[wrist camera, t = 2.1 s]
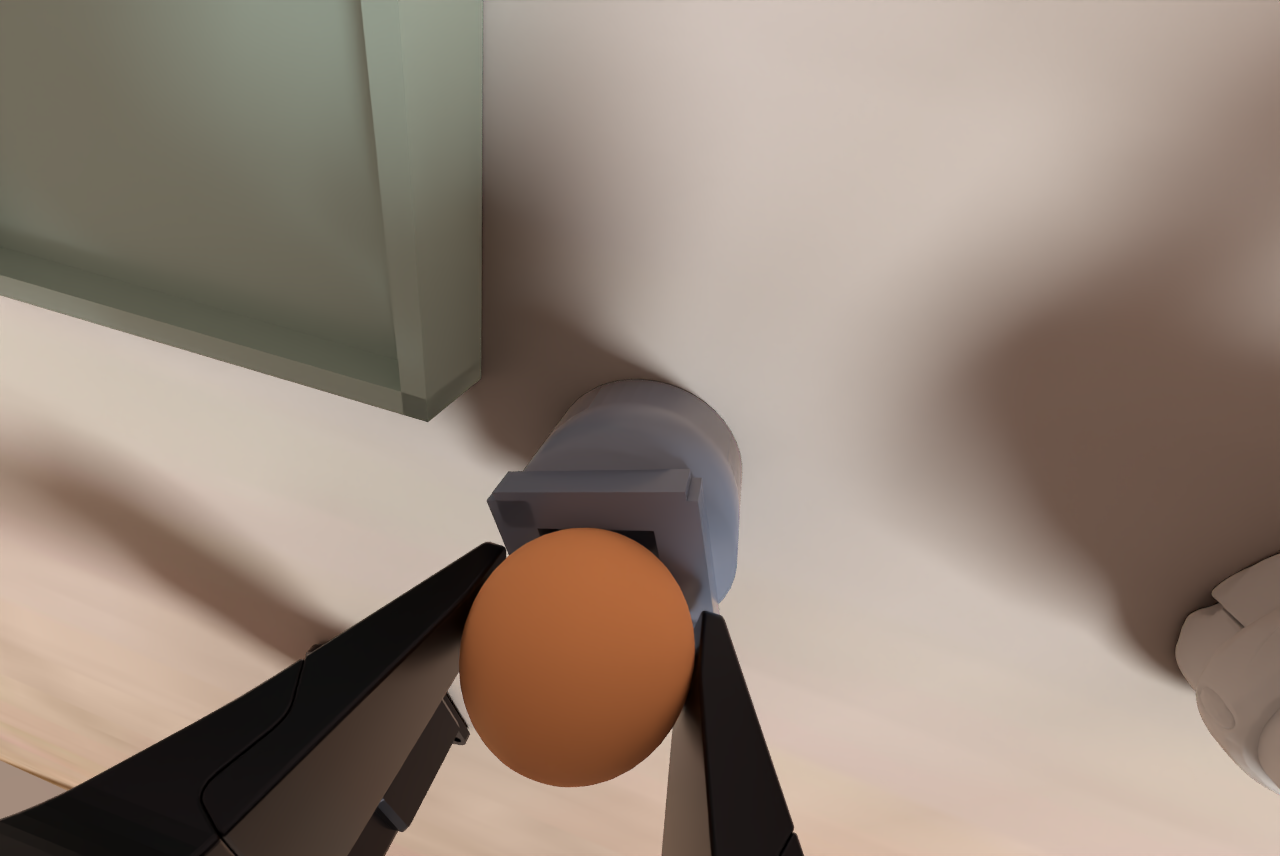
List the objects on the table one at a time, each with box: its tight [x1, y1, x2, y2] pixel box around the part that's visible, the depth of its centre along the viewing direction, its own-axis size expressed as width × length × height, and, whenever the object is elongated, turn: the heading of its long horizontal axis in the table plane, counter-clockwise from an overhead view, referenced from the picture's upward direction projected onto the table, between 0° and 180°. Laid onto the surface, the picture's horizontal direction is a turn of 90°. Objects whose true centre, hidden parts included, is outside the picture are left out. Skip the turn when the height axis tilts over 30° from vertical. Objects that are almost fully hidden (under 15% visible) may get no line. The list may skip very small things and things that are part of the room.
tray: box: [0, 0, 483, 422], centre depth 9 cm, size 15×11×2 cm
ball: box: [459, 528, 695, 787], centre depth 8 cm, size 4×4×4 cm
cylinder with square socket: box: [487, 380, 742, 629], centre depth 11 cm, size 5×5×4 cm
